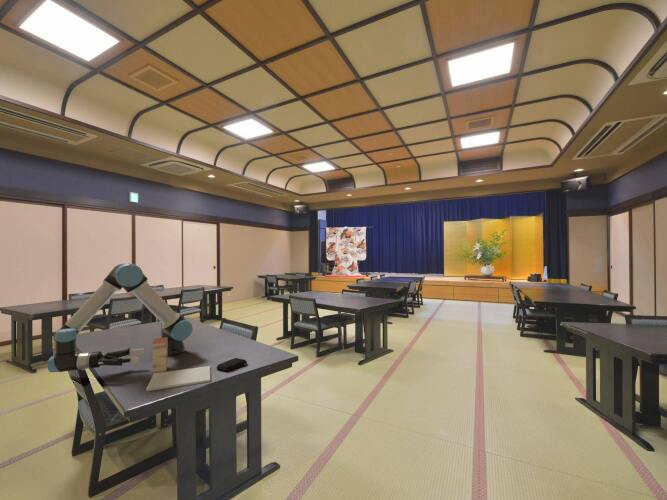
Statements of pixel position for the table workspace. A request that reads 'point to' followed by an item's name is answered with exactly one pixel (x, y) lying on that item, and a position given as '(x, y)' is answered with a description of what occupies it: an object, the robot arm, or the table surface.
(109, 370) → the table surface
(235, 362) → the carrying case or bag
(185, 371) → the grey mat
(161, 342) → the birch block
